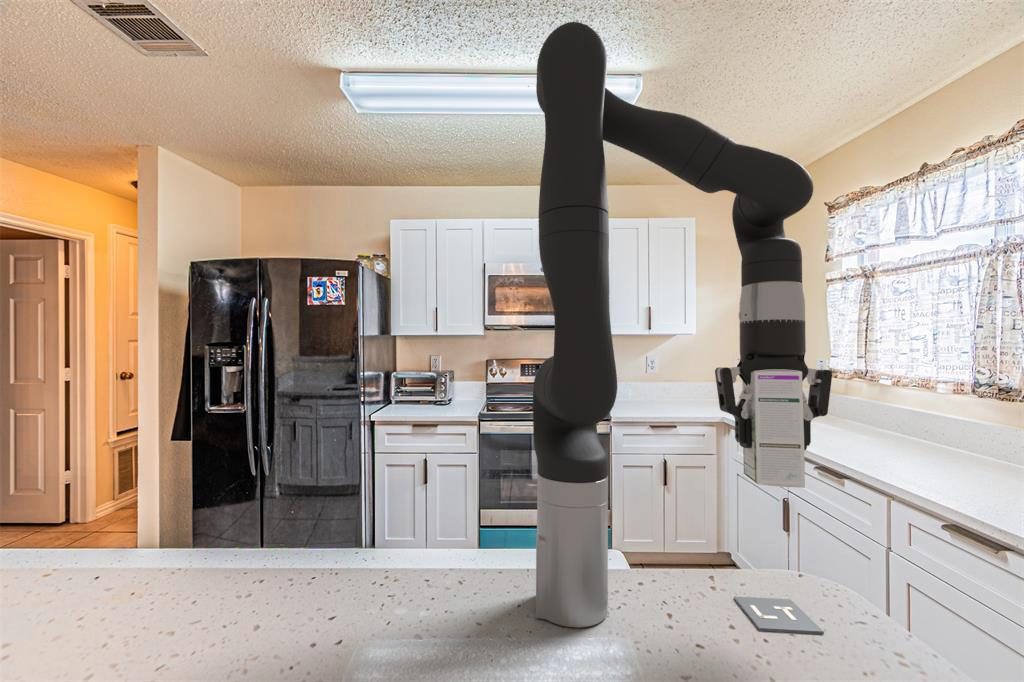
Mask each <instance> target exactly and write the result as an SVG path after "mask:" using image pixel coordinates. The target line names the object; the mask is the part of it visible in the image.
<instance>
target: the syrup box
mask: <svg viewBox="0 0 1024 682" xmlns="http://www.w3.org/2000/svg"><path fill="white" fill-rule="evenodd" d="M741 380H742V379H741ZM741 382H742V383H741V384H742V388H741V389H742V390H743V388H744V386H745V387H746V394H751V393H752V394H753V401H752V414H751V416H750V418H749V419H751V420H752V448H744V447H742V448H743V449H742V452H743V475H745V476H746V477H747V478H749V479H750V480H751V481H753V482H754V483H756V484H757V485H760V486H770V487H781V488H783V487H784V488H803V489H804V488H805V487H806V478H805V477H806V476H805V475H806V471H805V470H806V466H805V462H806V461H805V450H804V421H803V393H804V391H803V382H802V372H801V371H796V370H785V369H767V370H756V371H753V372H751V382H750V385H749V384H747V386H746V384H745V383H744V382H743V380H742V381H741Z"/></svg>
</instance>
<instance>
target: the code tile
mask: <svg viewBox="0 0 1024 682" xmlns="http://www.w3.org/2000/svg"><path fill="white" fill-rule="evenodd" d="M733 599H734V601H735V602H736V603H737V604H738V606H739V607H740V608H741V610H742V611H743V612H744V614H745V615H746V616H747V617H748V619H750V621H751V622H752V623H753V624H754V626H755V627H756V628H757V630H758V631H761V632H778V633H779V632H780V633H798V634H812V635H813V634H814V635H815V634H816V635H824V634H825V632H824V629H822V628H821V627H819V625H818V624H817V623H815V622H814V620H813V619H812V618H810V617H809V616H808V615H807V614H806V613H805V612H804V611H803V610H802V608H800V607H799V606H798V605H797V604H796V603H795V602H794V601H793V600H792V599H791V598H776V597H775V598H772V597H771V598H770V597H752V596H748V597H747V596H737V595H736V596H733Z"/></svg>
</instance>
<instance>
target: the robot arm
mask: <svg viewBox="0 0 1024 682" xmlns="http://www.w3.org/2000/svg"><path fill="white" fill-rule="evenodd" d="M608 65H609V64H608V54H607V50H606V46H605V45H604V42H603V40H602V39H601V37H600V36H599V34H598V33H597V32H596V30H594V29H593V28H592V27H590V26H589V25H587V24H586V23H582V22H579V21H572V22H571V21H570V22H566V23H563V24H560V25H559V26H558V27H556V28H555V29H554V30H552V32H550V33H549V35H548V36H547V37H546V39H545V41H544V42H543V44H542V46H541V48H540V51H539V54H538V58H537V65H536V89H535V90H536V99H537V102H538V105H539V108H540V110H541V111H542V112H543V115H544V122H545V123H544V126H545V129H544V131H545V134H544V135H545V138H544V139H545V140H544V149H543V150H544V151H543V155H542V156H543V157H542V166H541V173H540V174H541V175H540V176H541V177H540V183H539V196H538V198H539V199H538V249H539V258H540V263H541V268H542V272H543V276H544V279H545V283H546V286H547V288H548V292H549V295H550V300H551V303H552V308H553V309H552V310H553V317H554V336H553V355H552V356H550V357H548V358H547V359H545V360H544V361H543V362H542V363H541V364H540V366H539V368H538V369H537V370H536V373H535V377H534V379H533V380H534V381H533V386H532V387H533V388H532V422H533V423H532V426H533V432H532V433H533V447H534V452H535V457H536V461H537V465H536V466H537V470H536V471H537V483H536V484H537V493H536V494H537V497H536V505H537V506H536V509H537V510H536V513H537V514H536V539H535V541H536V543H535V546H536V548H535V549H536V551H535V554H536V555H535V618H536V619H543V620H547V621H549V622H550V623H553V624H556V625H559V626H562V627H567V628H586V627H592V626H595V625H597V624H599V623H602V622H603V621H604V620H605V618H606V617H607V615H608V613H609V611H608V609H609V608H608V603H609V592H608V591H609V590H608V589H609V588H608V587H609V586H608V585H609V583H608V581H609V580H608V579H609V578H608V577H609V575H608V574H609V571H608V570H609V566H608V565H609V564H608V563H609V559H608V558H609V549H608V548H609V542H608V541H609V536H608V535H609V534H608V533H609V462H608V461H609V460H608V459H609V458H608V455H607V452H606V451H605V449H604V448H603V446H602V443H601V441H600V438H599V435H598V424H599V423H601V422H602V421H603V420H605V419H606V418H607V417H608V416H609V414H610V413H611V411H612V409H613V408H614V405H615V402H616V400H617V393H618V375H617V365H616V359H615V351H614V341H613V334H612V326H611V316H610V263H609V262H610V261H609V260H610V259H609V256H610V255H609V254H610V253H609V251H610V250H609V249H610V226H609V225H610V224H609V219H610V218H609V217H610V216H609V202H608V201H609V200H608V186H607V171H606V170H607V169H606V158H605V149H604V142H607V143H609V144H612V145H614V146H617V147H619V148H622V149H624V150H626V151H628V152H630V153H633V154H635V155H637V156H640V157H641V158H642V159H646V160H648V161H649V162H650V163H654V164H655V165H657V166H658V167H660V168H662V169H663V170H665V171H668V173H670V174H672V175H674V176H675V177H677V178H679V179H680V180H682V181H683V182H686V183H687V184H689V185H691V186H692V187H694V188H695V189H698V190H700V191H702V192H703V193H708V194H714V193H718V192H722V191H723V192H724V191H727V192H731V193H732V194H736V195H735V196H734V201H733V204H732V212H731V213H732V214H731V217H732V219H731V220H732V226H733V229H734V234H735V235H734V236H735V238H736V242H737V246H738V249H739V252H740V255H741V265H740V269H741V275H740V276H741V281H740V283H741V290H740V291H741V292H740V297H739V298H740V300H739V307H738V308H739V309H738V310H739V312H738V319H739V356H740V359H739V362H738V364H737V366H733V367H721V366H719V367H716V368H715V370H714V376H715V383H716V384H715V385H716V388H717V389H716V390H717V398H718V404H719V405H718V406H719V410H720V411H721V412H724V413H727V414H729V415H732V416H733V417H734V430H735V431H734V439H735V441H736V442H737V443H738V444H739V446H740V447H741V448H743V447H744V448H752V420H751V419H749V418H750V416H751V414H752V401H753V394H752V393H751V394H746V387H745V386H744V388H743V390H742V391H741V392H740V394H739V397H738V398H739V399H738V402H737V404H736V397H735V396H736V395H735V387H734V384H735V383H736V381H737V377H738V376H739V377H740V379H741V380H743V382H744V383H745V384H746V386H747V384H749V385H750V382H751V372H753V371H756V370H767V369H785V370H796V371H801V372H802V383H803V382H804V381H805V379H807V380H806V381H807V383H808V384H809V390H808V397H807V396H806V395H805V393H804V392H803V421H804V451H807V449H808V446H810V445H811V443H812V441H811V437H812V435H811V434H812V433H811V431H812V429H811V428H812V426H811V422H812V421H813V419H815V418H818V417H826V416H827V415H828V412H829V404H830V397H831V396H830V395H831V389H832V380H833V373H832V371H831V370H830V369H819V368H818V369H817V368H816V369H815V368H809V367H808V365H807V364H806V362H805V357H806V356H805V355H806V351H807V348H806V343H807V342H806V303H805V302H806V299H805V294H804V288H803V287H804V286H803V254H802V253H803V252H802V248H801V246H800V244H799V242H797V241H796V240H794V239H792V238H787V237H786V233H785V230H784V229H785V228H784V221H786V219H788V218H790V217H791V216H793V215H795V214H797V213H798V212H800V211H801V210H803V209H804V208H805V207H806V206H807V205H808V204H809V203H810V201H811V200H812V196H813V194H814V183H813V179H812V176H811V175H810V174H809V172H808V170H807V169H806V168H805V167H804V166H803V165H801V164H800V163H799V162H797V161H795V160H794V159H792V158H790V157H788V156H785V155H782V154H779V153H776V152H773V151H772V152H771V151H769V150H765V149H761V148H759V147H755V146H751V145H745V144H742V143H739V142H737V141H734V140H733V139H732V138H730V137H727V136H726V135H724V134H723V133H722V132H719V131H718V130H717V129H714V128H713V127H711V126H709V125H707V124H706V123H704V122H702V121H700V120H698V119H695V118H693V117H690V116H687V115H685V114H680V113H675V112H668V111H662V110H655V109H652V108H651V109H650V108H645V107H642V106H638V105H635V104H632V103H630V102H628V101H626V100H624V99H622V98H621V97H619V96H617V95H616V94H614V93H613V92H612V91H611V90H609V89H608V88H607V87H606V83H607V73H608V67H609V66H608Z"/></svg>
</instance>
